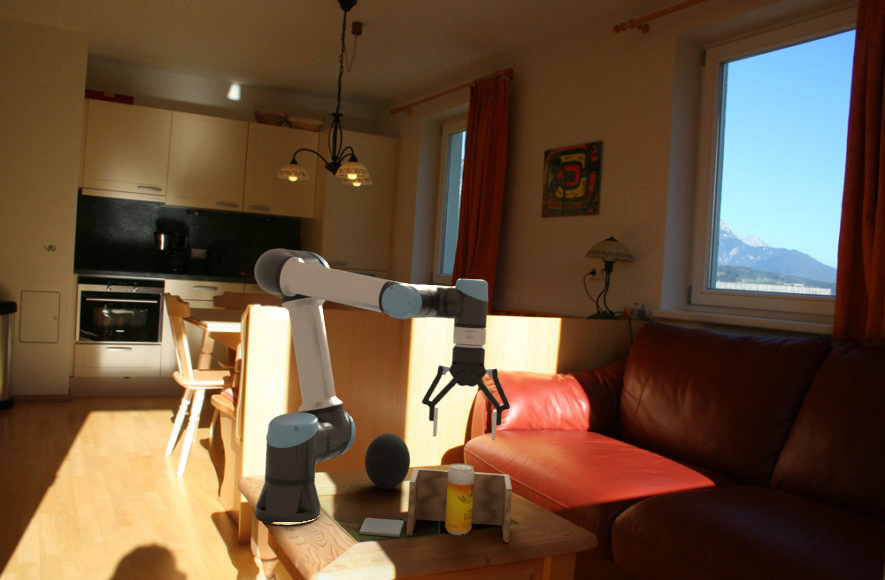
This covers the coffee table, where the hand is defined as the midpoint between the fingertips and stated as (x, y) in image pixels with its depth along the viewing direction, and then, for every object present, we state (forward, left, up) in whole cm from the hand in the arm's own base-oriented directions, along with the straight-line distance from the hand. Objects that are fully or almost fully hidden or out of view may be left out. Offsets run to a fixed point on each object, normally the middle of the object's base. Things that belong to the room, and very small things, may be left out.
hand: (464, 437), depth 160 cm
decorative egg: (-21, +29, -22) cm, 42 cm away
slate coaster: (-18, -2, -22) cm, 28 cm away
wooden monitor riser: (0, +1, -22) cm, 22 cm away
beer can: (0, 0, -22) cm, 22 cm away
